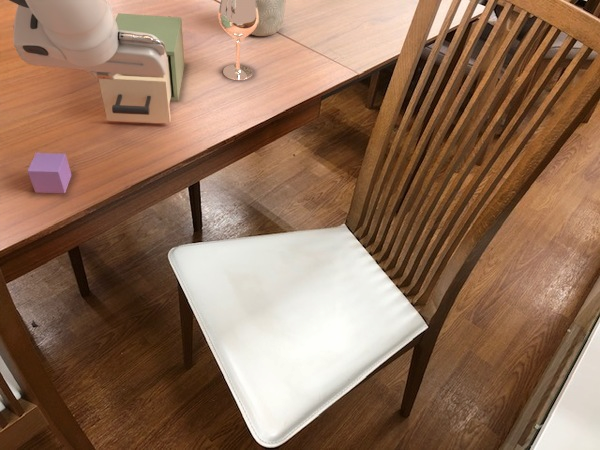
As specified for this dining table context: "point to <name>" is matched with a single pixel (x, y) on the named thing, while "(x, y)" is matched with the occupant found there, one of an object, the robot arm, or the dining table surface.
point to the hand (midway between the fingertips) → (105, 74)
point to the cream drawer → (138, 97)
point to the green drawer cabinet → (166, 32)
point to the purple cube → (49, 173)
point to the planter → (269, 17)
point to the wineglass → (238, 30)
